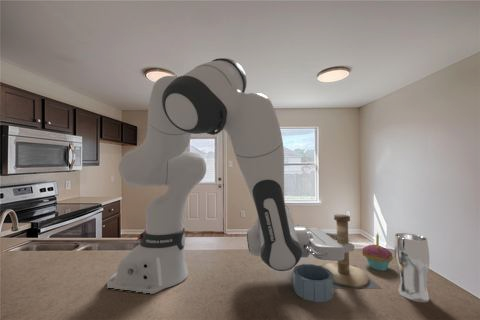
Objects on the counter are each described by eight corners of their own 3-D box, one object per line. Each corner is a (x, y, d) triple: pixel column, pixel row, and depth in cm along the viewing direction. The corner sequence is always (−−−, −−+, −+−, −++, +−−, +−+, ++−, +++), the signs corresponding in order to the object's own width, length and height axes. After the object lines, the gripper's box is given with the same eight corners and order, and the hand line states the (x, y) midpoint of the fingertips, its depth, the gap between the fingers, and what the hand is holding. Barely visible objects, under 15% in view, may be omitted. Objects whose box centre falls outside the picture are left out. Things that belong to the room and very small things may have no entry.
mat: (330, 289, 57) (330, 288, 57) (313, 266, 71) (313, 265, 71) (382, 289, 57) (382, 288, 57) (354, 266, 71) (354, 265, 71)
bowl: (299, 303, 51) (299, 282, 52) (290, 281, 61) (290, 264, 62) (340, 303, 51) (339, 282, 52) (324, 281, 61) (324, 264, 61)
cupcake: (397, 275, 64) (395, 235, 65) (366, 271, 67) (364, 233, 68) (388, 264, 73) (386, 228, 73) (360, 260, 75) (358, 226, 76)
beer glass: (439, 306, 50) (435, 241, 51) (405, 302, 51) (402, 240, 52) (420, 290, 57) (417, 233, 57) (391, 287, 58) (388, 232, 59)
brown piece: (331, 287, 58) (329, 220, 59) (315, 266, 71) (313, 211, 72) (379, 287, 57) (376, 220, 58) (354, 266, 70) (352, 211, 71)
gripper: (310, 242, 54) (364, 242, 54) (292, 223, 75) (331, 223, 75) (311, 267, 54) (365, 267, 54) (292, 241, 75) (331, 241, 74)
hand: (345, 241), depth 64 cm, fingers open, 8 cm apart
